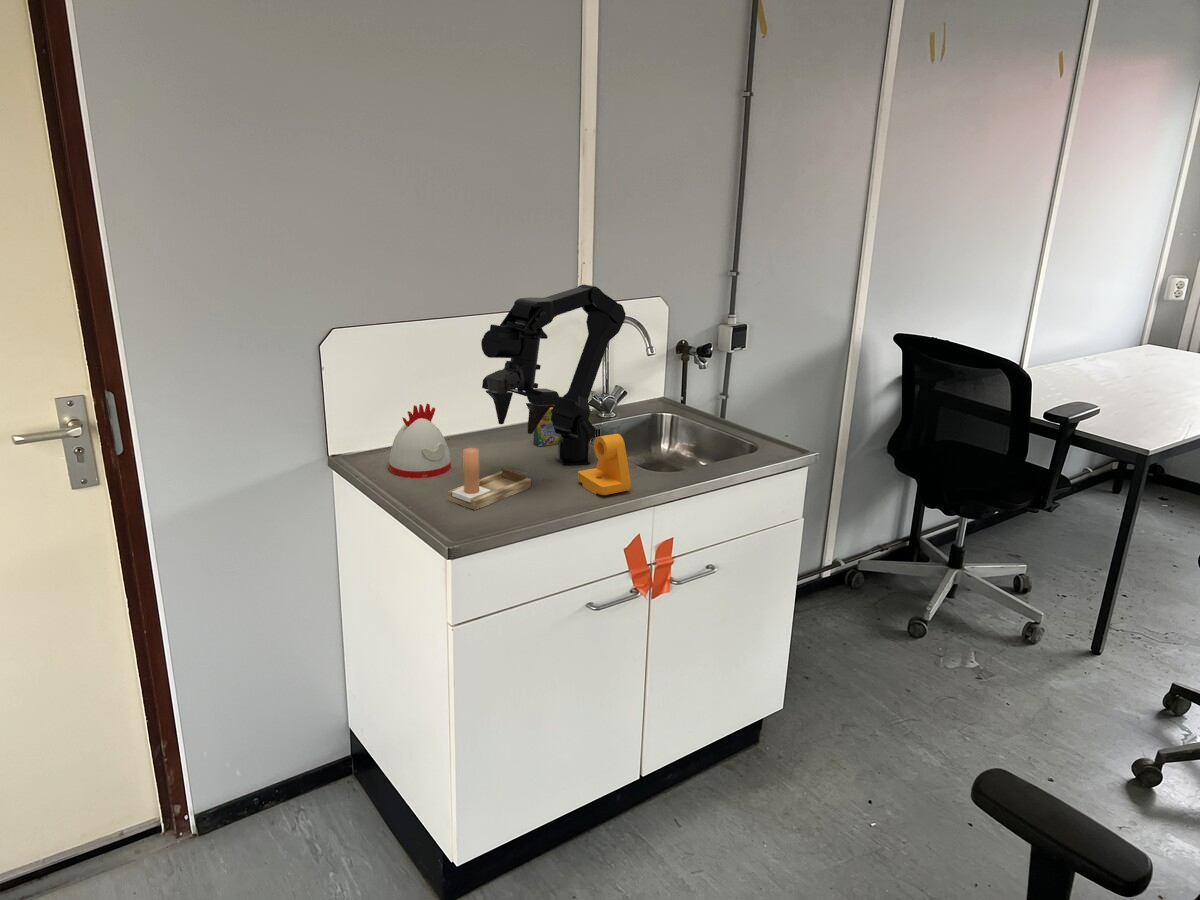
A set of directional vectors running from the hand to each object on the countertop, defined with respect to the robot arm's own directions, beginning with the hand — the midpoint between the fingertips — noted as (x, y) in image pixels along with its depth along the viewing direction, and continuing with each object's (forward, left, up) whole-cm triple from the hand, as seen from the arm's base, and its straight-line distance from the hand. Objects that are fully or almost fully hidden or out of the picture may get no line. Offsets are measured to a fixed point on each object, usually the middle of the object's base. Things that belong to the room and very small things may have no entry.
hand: (515, 428), depth 193 cm
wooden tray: (+6, +7, -12) cm, 15 cm away
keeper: (+10, +11, -11) cm, 18 cm away
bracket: (-19, +7, -12) cm, 23 cm away
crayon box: (-12, -24, -12) cm, 30 cm away
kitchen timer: (+20, -11, -12) cm, 26 cm away
